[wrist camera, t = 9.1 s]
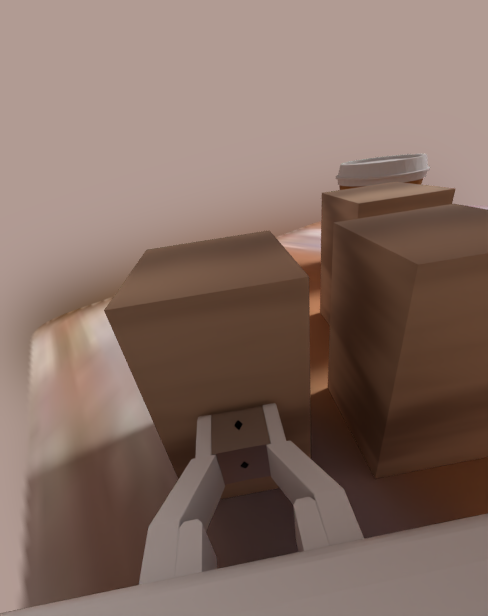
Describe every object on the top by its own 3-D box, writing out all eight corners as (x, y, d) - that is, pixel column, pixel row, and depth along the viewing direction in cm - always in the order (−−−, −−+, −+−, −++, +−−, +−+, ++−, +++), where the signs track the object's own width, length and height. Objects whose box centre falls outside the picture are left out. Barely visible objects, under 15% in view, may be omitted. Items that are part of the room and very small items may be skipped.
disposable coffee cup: (352, 246, 42) (358, 158, 36) (422, 255, 36) (443, 150, 30) (319, 267, 36) (320, 168, 30) (396, 282, 30) (415, 160, 24)
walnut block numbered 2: (420, 336, 22) (455, 188, 16) (347, 349, 21) (358, 203, 16) (377, 301, 27) (393, 181, 22) (319, 311, 27) (320, 192, 21)
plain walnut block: (311, 482, 13) (309, 276, 8) (190, 505, 13) (104, 310, 8) (282, 391, 19) (269, 230, 13) (195, 406, 18) (146, 249, 13)
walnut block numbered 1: (493, 456, 13) (615, 232, 8) (375, 478, 13) (418, 264, 8) (410, 369, 19) (449, 203, 13) (326, 385, 19) (331, 221, 13)
